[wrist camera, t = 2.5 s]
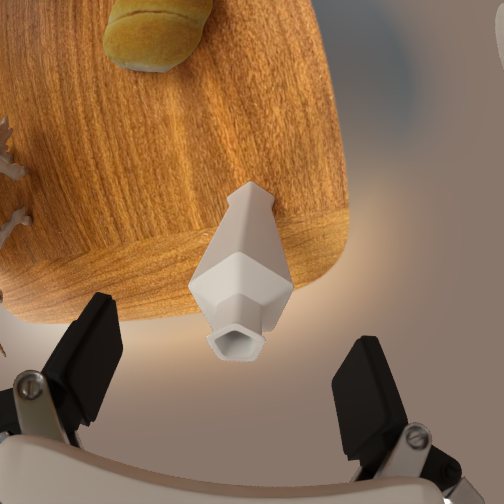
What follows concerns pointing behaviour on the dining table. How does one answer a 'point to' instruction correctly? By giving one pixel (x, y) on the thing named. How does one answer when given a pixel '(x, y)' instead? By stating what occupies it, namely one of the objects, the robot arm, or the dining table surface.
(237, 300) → the white faceted vase
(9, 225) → the unicorn figurine
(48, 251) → the dining table surface
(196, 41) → the bread roll
